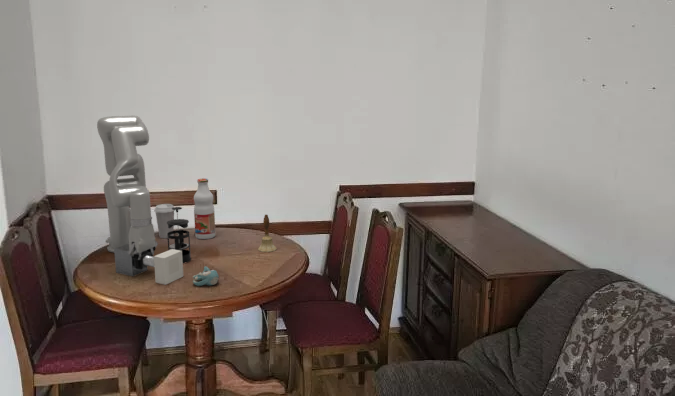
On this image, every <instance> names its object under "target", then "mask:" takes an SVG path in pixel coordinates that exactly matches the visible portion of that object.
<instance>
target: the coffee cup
mask: <svg viewBox="0 0 675 396" xmlns="http://www.w3.org/2000/svg"><path fill="white" fill-rule="evenodd" d="M174 207H175V206H174V204H171V203H163V204H157V205H156V206H155V208H154V212H155V217H156V223H157V228H158V236H159V238H161V239H168V237H167V233H168V232H171V231H175V226H172V227H171V228H168V224H167V221H170V220H174V219H175V212H176V210H173V209H172V208H174ZM170 236H174V234H171V235H170Z"/></svg>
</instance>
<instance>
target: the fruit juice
mask: <svg viewBox="0 0 675 396" xmlns="http://www.w3.org/2000/svg"><path fill="white" fill-rule="evenodd" d="M196 181H197V190H196V192H195V193H194V195H193V200H194V206H193V215H194V219H193V220H194V235H195V238H196V239H198V240H211V239H213V238H215V237H216V221H215V219H216V218H215V206H214V204H213V203H214V194H213V193H212V192H211V191H210V188H209V185H208V183H209V179H208V178H204V177H203V178H198V179H197V180H196Z"/></svg>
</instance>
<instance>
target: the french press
mask: <svg viewBox="0 0 675 396" xmlns="http://www.w3.org/2000/svg"><path fill="white" fill-rule="evenodd" d="M172 209H173V210H175V213H176V219H175V218H174V220H170V221H167V224H168V228H171V227H172V226H174V227H176V226H177V230H175V229H174V231H171V232H168V233H167V237H168V238H167V249H168V250H171V249H175V250H180V251H182V260H183V264H186V263H185V262H187V263H189V262H191V261H192V257H191V240H190V237H191V235H190V231H188V230H186V229H187V228H188V227H189V223H190V221H189V219H184V218H179V211H181V210H182V209H183V207H181V206H174V208H172ZM180 227H181V228H182V229H179V228H180ZM184 229H185V230H184ZM171 234H173V236H170V235H171ZM175 234H177V235H175ZM186 238H188V243H186V242H185V239H186ZM170 239H171V240H174V243H172V244H170ZM168 250H167V251H168Z"/></svg>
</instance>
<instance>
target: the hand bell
mask: <svg viewBox="0 0 675 396" xmlns="http://www.w3.org/2000/svg"><path fill="white" fill-rule="evenodd" d="M263 227H264V236H263V237H261V244H260V245H259V247H258V248H257V251H259V252H262V253H272V252H275V251H277V247H276V246H275V245H274V242H273V237H271V236H270V235H269V234H270V233H269V227H270V219H269V215H268V214H264V217H263Z"/></svg>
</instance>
